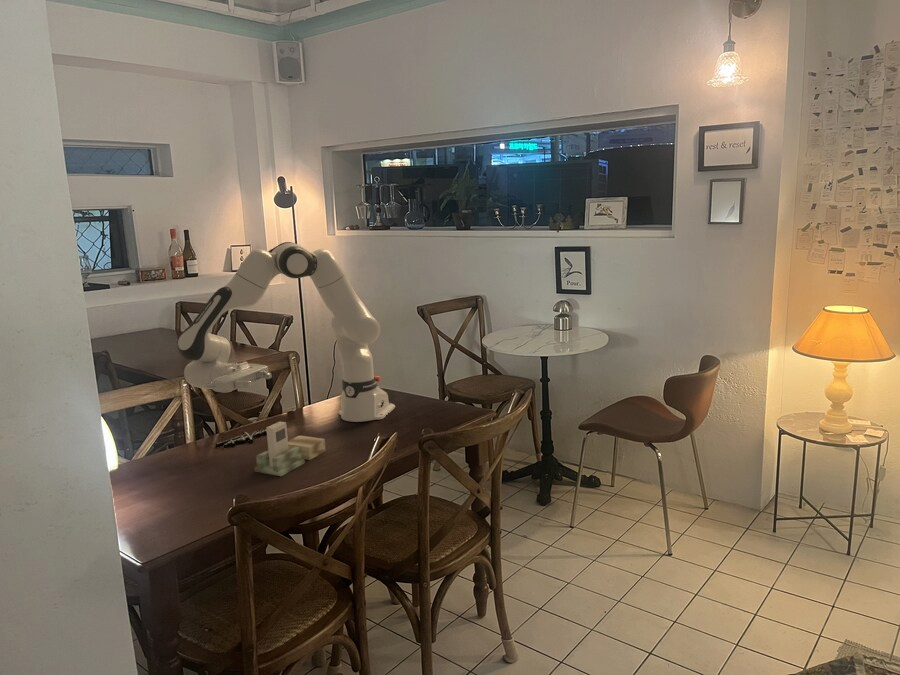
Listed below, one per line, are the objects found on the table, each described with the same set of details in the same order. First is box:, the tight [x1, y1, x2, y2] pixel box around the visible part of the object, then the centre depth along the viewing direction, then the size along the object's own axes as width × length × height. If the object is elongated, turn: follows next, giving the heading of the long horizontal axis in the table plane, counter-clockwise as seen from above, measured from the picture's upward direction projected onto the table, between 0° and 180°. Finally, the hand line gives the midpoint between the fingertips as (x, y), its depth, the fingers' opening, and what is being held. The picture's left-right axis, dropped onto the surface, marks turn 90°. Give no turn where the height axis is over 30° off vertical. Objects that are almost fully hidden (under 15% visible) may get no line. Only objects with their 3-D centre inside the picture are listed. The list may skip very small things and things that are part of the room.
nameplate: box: [215, 421, 288, 449], centre depth 231 cm, size 27×2×10 cm
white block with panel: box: [265, 421, 289, 467], centre depth 202 cm, size 6×3×12 cm, turn 154°
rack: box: [253, 446, 306, 477], centre depth 203 cm, size 11×10×5 cm
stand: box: [288, 434, 326, 461], centre depth 214 cm, size 8×10×4 cm
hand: (260, 380), depth 214 cm, fingers open, 8 cm apart
